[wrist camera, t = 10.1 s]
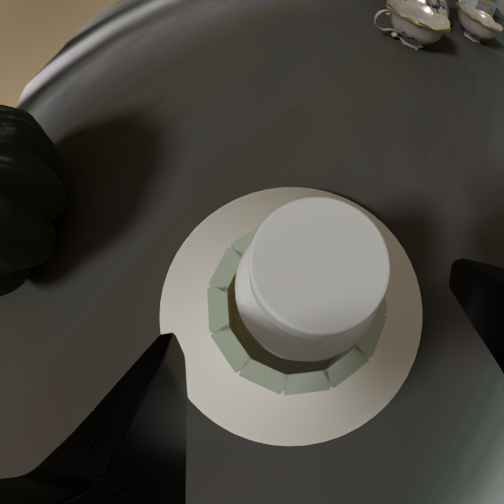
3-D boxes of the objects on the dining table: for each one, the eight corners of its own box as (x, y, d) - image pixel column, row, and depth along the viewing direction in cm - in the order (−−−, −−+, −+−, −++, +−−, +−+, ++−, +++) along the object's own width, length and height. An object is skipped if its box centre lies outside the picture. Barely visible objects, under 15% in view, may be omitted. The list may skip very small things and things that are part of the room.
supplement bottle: (315, 252, 18) (349, 151, 9) (359, 331, 17) (444, 297, 7) (233, 292, 18) (191, 220, 9) (275, 376, 16) (277, 399, 7)
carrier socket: (258, 485, 15) (255, 509, 11) (125, 279, 20) (100, 263, 16) (455, 332, 17) (484, 325, 14) (315, 158, 22) (320, 127, 19)
